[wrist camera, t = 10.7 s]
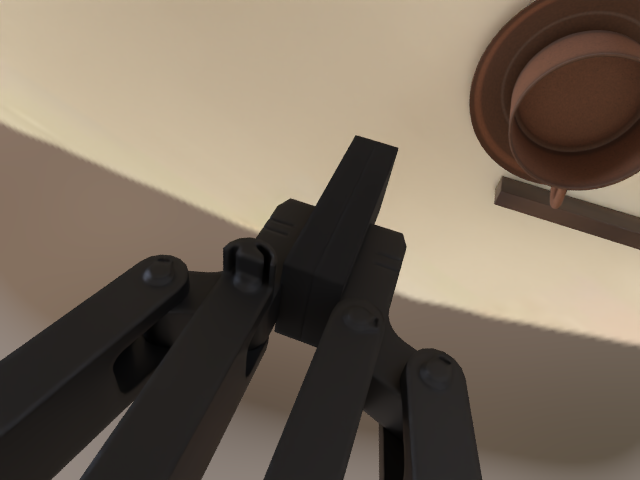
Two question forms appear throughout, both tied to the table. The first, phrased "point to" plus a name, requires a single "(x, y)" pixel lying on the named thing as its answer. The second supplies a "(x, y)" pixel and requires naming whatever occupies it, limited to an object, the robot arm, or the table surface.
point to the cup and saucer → (563, 94)
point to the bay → (569, 212)
